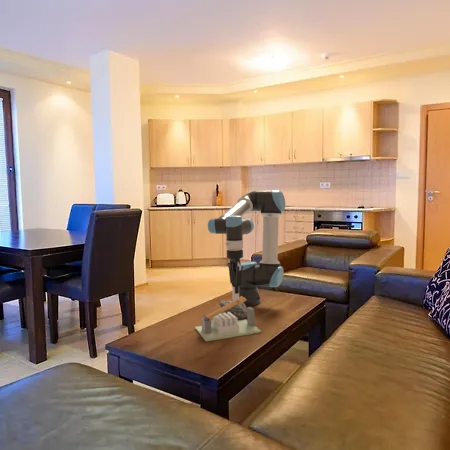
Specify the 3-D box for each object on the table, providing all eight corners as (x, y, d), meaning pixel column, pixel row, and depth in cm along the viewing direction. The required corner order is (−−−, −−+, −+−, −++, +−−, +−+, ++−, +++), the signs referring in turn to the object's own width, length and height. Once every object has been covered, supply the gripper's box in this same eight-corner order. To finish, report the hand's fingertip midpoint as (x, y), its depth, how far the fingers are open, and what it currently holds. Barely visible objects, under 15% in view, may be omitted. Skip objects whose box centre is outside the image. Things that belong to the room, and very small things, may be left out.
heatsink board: (195, 328, 183) (194, 310, 182) (245, 321, 192) (245, 303, 191) (206, 341, 167) (205, 321, 166) (260, 332, 176) (260, 313, 175)
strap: (207, 321, 173) (206, 318, 172) (203, 317, 177) (203, 315, 177) (246, 300, 179) (245, 298, 179) (242, 297, 183) (241, 295, 183)
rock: (215, 316, 199) (217, 298, 197) (223, 311, 206) (225, 293, 204) (242, 326, 192) (244, 307, 190) (249, 320, 199) (252, 302, 197)
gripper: (222, 248, 182) (223, 297, 184) (232, 251, 170) (233, 304, 172) (236, 247, 185) (238, 295, 187) (247, 250, 173) (249, 302, 174)
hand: (235, 299), depth 179 cm, fingers closed
